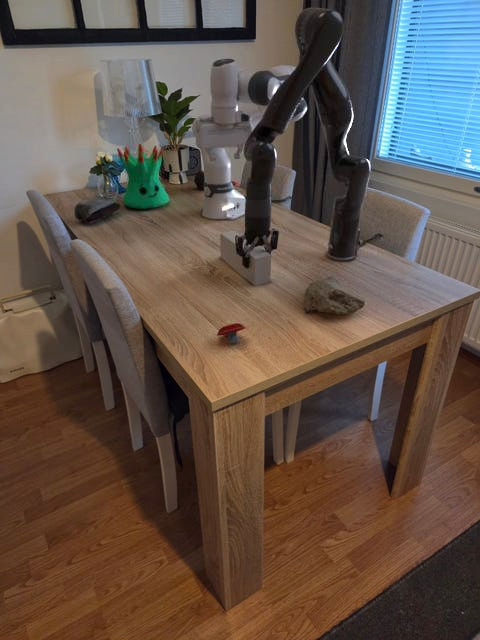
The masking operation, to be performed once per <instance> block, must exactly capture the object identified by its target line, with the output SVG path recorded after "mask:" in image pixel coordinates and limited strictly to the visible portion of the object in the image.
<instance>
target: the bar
mask: <svg viewBox="0 0 480 640" xmlns="http://www.w3.org/2000/svg"><path fill="white" fill-rule="evenodd" d="M219 235H220V236H219V240H220V259H221V260H222V261H224V262H225V263H226V264H227V265H228V266H230V267H231V268H232V269H233V270H235V271H236V272H237V273H238V274H240V276H242V277H243V278H244V279H245V280H246V281H248V282H249V283H251V285H252V286H253V287H255V286H259V285H263V284H268V283H271V271H272V254H271V255H270V254H269V253H268V252H266V251H265V249H264V248H262V247H261V246H257V247H254V249H253V250H252V251H251V252H250V254H249V256H248V257H249V268H247V269H246V268H245V267H244V266H243V265H242V257H240V256H239V255H238V254H237V253H236V244H235V236H236V235H238V236H242V235H243V234H241V233H239V232H238V231H237V230H228V231H223V232H220V234H219ZM245 242H246V239H245V240H244V243H243V248H244V244H245ZM249 247H250V245H249Z"/></svg>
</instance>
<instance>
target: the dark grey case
mask: <svg viewBox="0 0 480 640" xmlns="http://www.w3.org/2000/svg"><path fill="white" fill-rule="evenodd" d="M120 209H121V204H120V203H119V202H117V201H116V199H115V197H109V198H108V197H107V196H100V195H98V196H95V197H89V198H87V199H84V200H81V201H79V202H78V203H77V204H76V205H75V206H74V217H75V219H76V220H78V221H83V222H84V223H86V224H87V225H89V224H92V223H94V222H96V221H97V222H98V220H99V221H100V220H101V219H104V218H106V217H107V216H110V215H112V214H114V213H115V212H116V211H119V210H120Z"/></svg>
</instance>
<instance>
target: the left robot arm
mask: <svg viewBox="0 0 480 640" xmlns="http://www.w3.org/2000/svg"><path fill="white" fill-rule="evenodd" d="M296 67H297V66H293V65H288V64H281V65H276V66H273V67H271V68H269V69H268V70H243V69H242V68H240V67H239V66H238V65H237V60H235V59H234V58H220V59H217V60H215V61H214V62H212V64H211V68H210V78H209V79H210V81H209V89H210V91H209V93H210V95H211V103H210V114H208V113H207V114H202V115H198V116H197V117H195V119H194V120H193V122H192V125H191V131H192V135H193V137H194V138H195V145H196V147H197V148H198V149H199V150H200V153H201V158H202V162H203V163H202V164H203V172H204V189H203V193H204V194H203V195H204V199H203V206H202V207H203V208H202V211H201V216H202V217H204V218H205V219H210V220H229V221H230V220H235V219H237V218H240V217H242V216H245V201H246V195H243V194H242V193H240V191H238V190H236V189H235V187H238V186H239V183H240V182H239V181H237V180H232V166H231V165H232V163H231V160H230V157H229V156H228V155H227V153H226V150H228V149H229V150H230V149H235V148H237V150H236V152H235V153H233V158H234V159H235V160H240V159H241V153H242V152H243V151H244V146H245V143H246V141H247V139H248V137H249V135H250V134H251V132H252V131H253V130H254V128H255V127H256V125H257V124H258V123H259V122H260V120H261V119H262V117H263V114H264V113H265V110H266V108H267V106H268V104H269V102H270V100H271V98H272V96H273V94H274V93H275V91H276V90H277V89H278V87H279V86H280V85H281V84H282V83H283V82H284V81H285V80H286V78H287V77H288V76H289V75H290V74H291V73H292V72H293V71H294V70H295V68H296ZM239 104H240V105H239ZM307 111H308V105H307V102H306V100H305V98H304V97H303V98H302V100H301V101H300V103H299V105H298V107H297V109H296V111H295V113H294V115H293V117H292V118H291V120H290V122H289V123H294V122H297V121H299V120H300V119H302V118H303V117H304V116H305V114H306V113H307ZM288 199H290V200H292V199H293V197H292V196H291V195H289V196H286V197H285V198H283V199H273V200H272V199H271V203H280V202H285V201H287V200H288Z"/></svg>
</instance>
